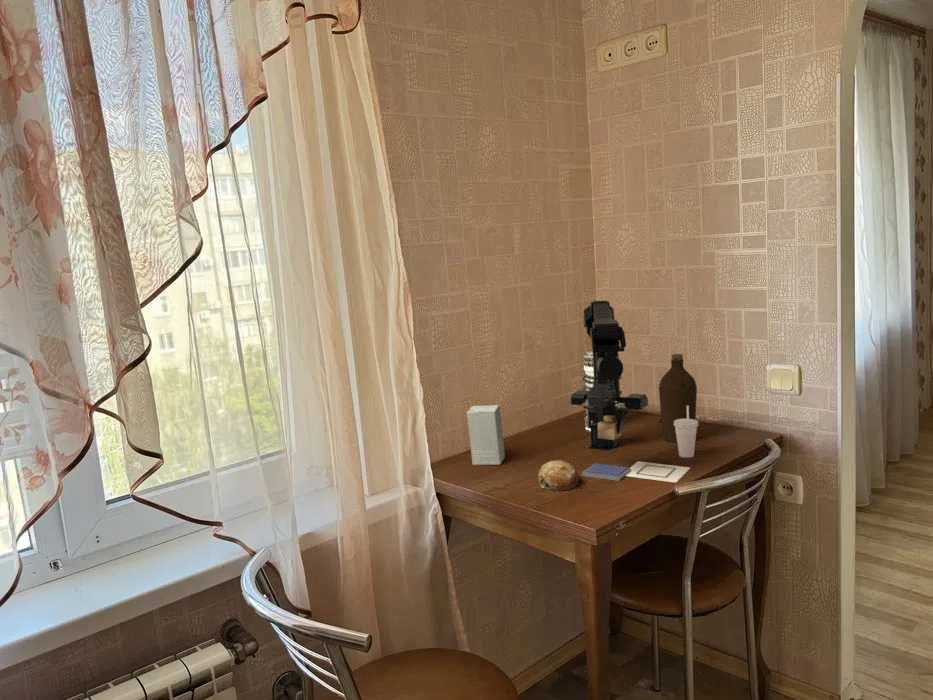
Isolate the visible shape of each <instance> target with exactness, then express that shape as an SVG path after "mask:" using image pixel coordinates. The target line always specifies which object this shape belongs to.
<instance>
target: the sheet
mask: <svg viewBox="0 0 933 700" xmlns="http://www.w3.org/2000/svg"><path fill="white" fill-rule="evenodd" d="M629 468H631V471H630V472H629V473H627V474H626V475H625V476H624V477H631V478H639V479H644V480H645V479H647V480H655V481H660V482H661V481H662V482H668V483H678V481H679V480H681V478H682V477H683V476H684V475H686V474H687V472H688V471H689V470H690V469H691V467H690V466H689V467H688V466H680V465H671V464H662V463H655V462H648V461H647V462H646V461H640V460H639V461H636V462H635V463H634V464H633V465H631V466H630V467H629Z"/></svg>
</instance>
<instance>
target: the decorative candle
mask: <svg viewBox="0 0 933 700" xmlns="http://www.w3.org/2000/svg"><path fill="white" fill-rule="evenodd" d="M582 357H583V358H584V359H583V363H584V365H583V371H582V373H581V374H582V381H583V384H582V386H583V389H582V390H588V391H589V390H590V389H591V388H592V387H593V385H594V371H593V352H592V349H591V350H587V351H586V353H585V354H584V355H582ZM583 409H584V408H583ZM584 415H585V417H584V421H585V423H584V426H585V429H586V430H585V431H587V430H589V431H588V432H590V431H591V428H588V423H587V409H584ZM590 422H592V421H590Z"/></svg>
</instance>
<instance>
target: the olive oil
mask: <svg viewBox="0 0 933 700" xmlns="http://www.w3.org/2000/svg"><path fill="white" fill-rule="evenodd" d="M670 355H671V359H670V361H671V362H670V365H671V367H670V369H669V370H668V371H667V372H666V373H665V374H664V375H663V376H662V377H661V379H660V380H659V381H660V382H659V384H658V395H659V408H660V419H659V422H660V424H661V438H662V439H663V440H664V441H666V442H670V443H677V437H676V430H675V426H674V421H675V420H677V419H687V406H689V419H694V420H697V418H696V417H697V415H696V414H697V394H698V393H697V391H698V387H697V383H696V380H695V379H694V377H693V376H692V375H691V374H690V372H688V371H687V369H685V368H684V359H683V354H681V353H672V354H670Z"/></svg>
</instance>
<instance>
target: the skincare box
mask: <svg viewBox="0 0 933 700" xmlns="http://www.w3.org/2000/svg"><path fill="white" fill-rule="evenodd" d="M466 417H467V425H468V427H467V428H468V435H469V443H470V455H471V461H472V462H471V463H472V465H473V466H481V465H482V466H486V465H487V466H489V465H490V466H491V465H492V466H494V465H496V466H497V465H501V464H502V462H503V461H504V460H505V458H506V454H505V444H504V443H505V442H504V435H503V425H502V416H501V406H500V404H492V405H491V404H490V405H472V406H471V407H470V408H469V409H468V410H467V412H466Z"/></svg>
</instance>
